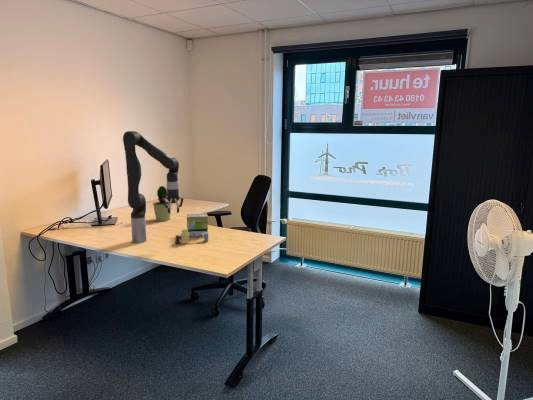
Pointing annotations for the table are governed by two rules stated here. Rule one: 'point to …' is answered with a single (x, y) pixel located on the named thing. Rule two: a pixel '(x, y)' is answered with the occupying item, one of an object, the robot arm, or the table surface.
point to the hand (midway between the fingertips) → (173, 213)
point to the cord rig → (203, 235)
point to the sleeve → (185, 235)
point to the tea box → (197, 224)
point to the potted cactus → (161, 205)
